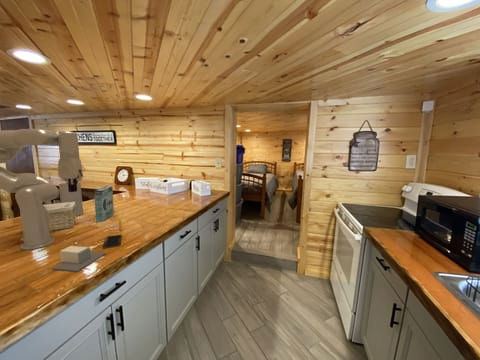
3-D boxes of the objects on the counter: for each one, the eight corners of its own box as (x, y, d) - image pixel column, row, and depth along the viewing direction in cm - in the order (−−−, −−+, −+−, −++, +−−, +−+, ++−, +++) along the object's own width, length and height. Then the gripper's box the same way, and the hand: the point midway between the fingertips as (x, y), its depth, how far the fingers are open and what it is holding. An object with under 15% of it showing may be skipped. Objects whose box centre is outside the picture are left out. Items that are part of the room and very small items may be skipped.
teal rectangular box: (107, 214, 157) (105, 186, 154) (114, 213, 158) (112, 185, 155) (95, 222, 138) (93, 190, 135) (103, 221, 139) (101, 190, 136)
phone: (102, 247, 100) (106, 236, 113) (102, 249, 100) (106, 238, 113) (120, 244, 104) (122, 234, 117) (120, 246, 104) (122, 236, 117)
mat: (52, 269, 82) (51, 268, 82) (84, 252, 97) (84, 250, 97) (77, 272, 81) (77, 270, 81) (106, 253, 95) (106, 252, 95)
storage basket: (21, 236, 113) (18, 212, 111) (30, 227, 127) (27, 205, 125) (75, 228, 127) (72, 206, 125) (78, 221, 140) (76, 201, 138)
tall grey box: (84, 212, 161) (81, 182, 158) (81, 216, 150) (78, 184, 147) (64, 214, 155) (61, 183, 151) (60, 218, 144) (56, 185, 141)
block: (59, 251, 86) (79, 252, 85) (70, 245, 91) (89, 247, 90) (61, 261, 87) (80, 263, 86) (71, 255, 92) (90, 257, 91)
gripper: (49, 155, 96) (53, 192, 99) (75, 156, 94) (78, 193, 96) (64, 155, 104) (68, 189, 106) (89, 156, 101) (92, 191, 104)
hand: (73, 191), depth 101 cm, fingers closed
